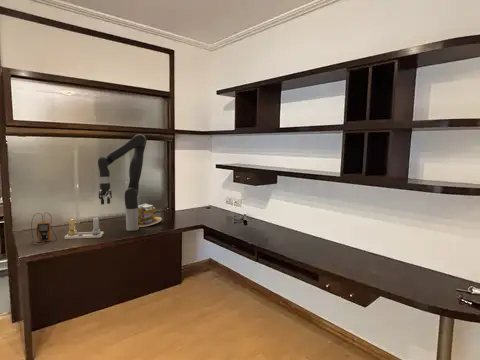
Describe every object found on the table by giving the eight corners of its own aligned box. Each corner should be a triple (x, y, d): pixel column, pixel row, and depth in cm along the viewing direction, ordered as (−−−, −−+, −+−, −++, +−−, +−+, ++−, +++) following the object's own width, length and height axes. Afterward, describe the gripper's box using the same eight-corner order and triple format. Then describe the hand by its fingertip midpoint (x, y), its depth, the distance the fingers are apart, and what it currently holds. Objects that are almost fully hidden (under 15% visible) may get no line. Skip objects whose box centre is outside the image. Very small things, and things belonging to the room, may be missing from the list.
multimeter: (29, 246, 214) (27, 216, 211) (32, 241, 223) (31, 213, 221) (55, 243, 219) (53, 214, 217) (57, 239, 228) (55, 211, 226)
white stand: (103, 233, 245) (102, 216, 243) (100, 237, 235) (100, 219, 234) (68, 234, 240) (68, 217, 238) (64, 238, 230) (63, 221, 229)
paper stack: (133, 228, 259) (133, 208, 257) (129, 221, 281) (129, 202, 279) (164, 225, 270) (164, 206, 268) (158, 219, 292) (158, 200, 290)
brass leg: (76, 233, 238) (76, 218, 237) (74, 235, 232) (73, 220, 231) (70, 233, 237) (69, 218, 236) (67, 235, 231) (67, 220, 230)
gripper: (104, 182, 241) (105, 204, 240) (114, 182, 255) (115, 203, 255) (95, 183, 242) (95, 204, 241) (105, 183, 256) (106, 203, 256)
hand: (105, 204), depth 248 cm, fingers open, 8 cm apart
